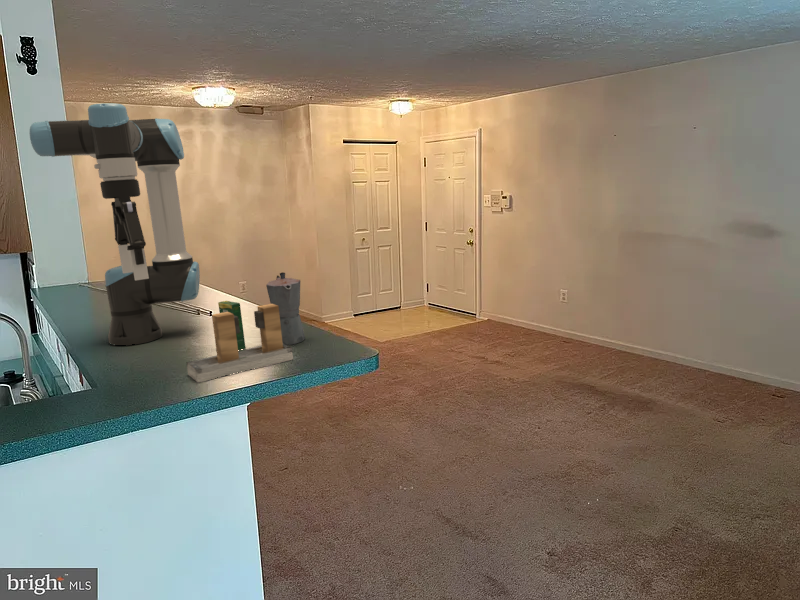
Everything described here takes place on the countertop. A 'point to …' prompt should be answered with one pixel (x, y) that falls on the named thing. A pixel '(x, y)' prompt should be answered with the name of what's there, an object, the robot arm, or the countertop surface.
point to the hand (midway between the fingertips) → (135, 275)
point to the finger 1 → (226, 336)
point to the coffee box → (236, 310)
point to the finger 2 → (269, 327)
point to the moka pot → (287, 307)
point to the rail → (237, 363)
